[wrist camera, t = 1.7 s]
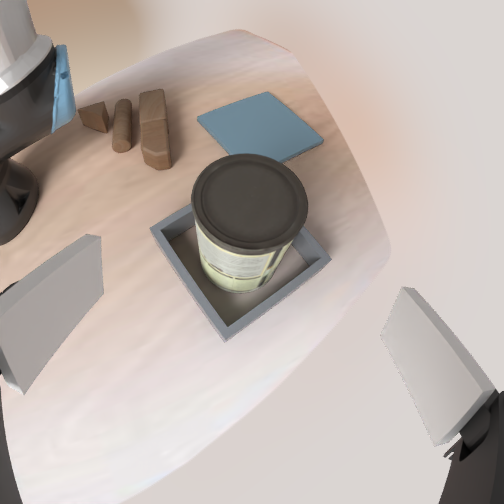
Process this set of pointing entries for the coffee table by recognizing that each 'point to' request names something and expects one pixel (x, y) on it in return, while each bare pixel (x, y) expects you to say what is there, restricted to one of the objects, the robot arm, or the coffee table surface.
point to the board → (260, 128)
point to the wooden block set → (150, 126)
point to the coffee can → (246, 219)
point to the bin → (162, 235)
